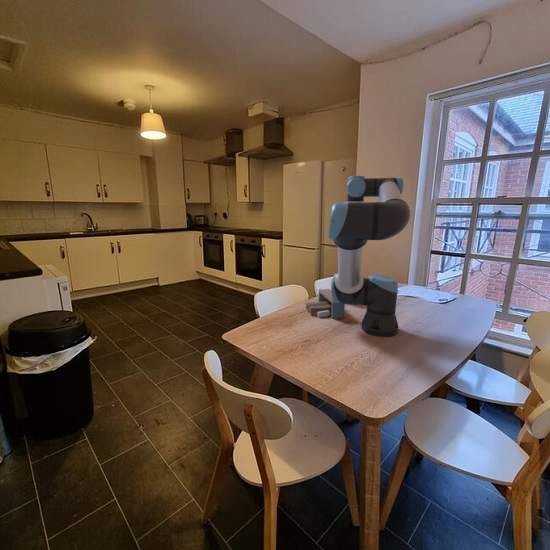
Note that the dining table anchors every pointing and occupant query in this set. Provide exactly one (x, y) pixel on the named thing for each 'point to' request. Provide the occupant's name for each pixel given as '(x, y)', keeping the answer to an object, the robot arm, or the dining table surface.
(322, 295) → the bridge shelf
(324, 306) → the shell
